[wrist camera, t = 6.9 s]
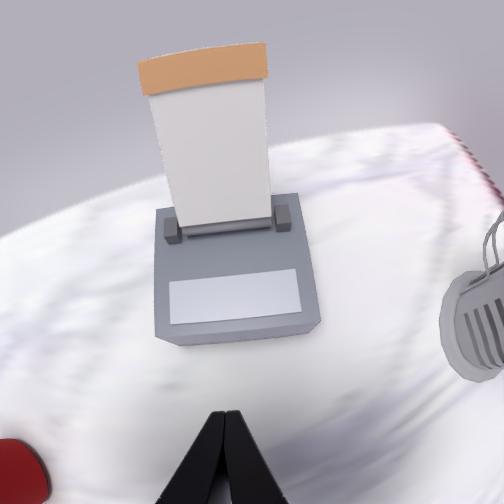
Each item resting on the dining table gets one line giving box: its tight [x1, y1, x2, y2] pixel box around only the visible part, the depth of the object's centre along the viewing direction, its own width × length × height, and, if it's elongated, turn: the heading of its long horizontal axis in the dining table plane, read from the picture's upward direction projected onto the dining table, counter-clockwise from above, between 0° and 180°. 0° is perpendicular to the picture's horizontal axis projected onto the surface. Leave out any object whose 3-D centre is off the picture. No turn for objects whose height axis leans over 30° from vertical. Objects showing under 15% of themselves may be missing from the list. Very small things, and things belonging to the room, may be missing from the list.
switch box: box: [154, 193, 321, 346], centre depth 19 cm, size 8×9×6 cm
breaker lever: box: [137, 42, 272, 236], centre depth 14 cm, size 2×5×10 cm, turn 95°
